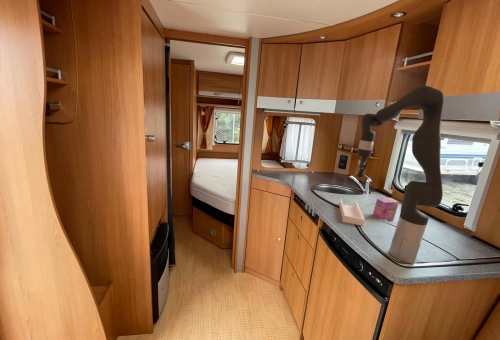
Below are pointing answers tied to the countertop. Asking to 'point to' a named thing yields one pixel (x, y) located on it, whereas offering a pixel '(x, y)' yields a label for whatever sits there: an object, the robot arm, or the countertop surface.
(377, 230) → the countertop surface
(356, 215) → the trough
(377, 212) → the box
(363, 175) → the block
